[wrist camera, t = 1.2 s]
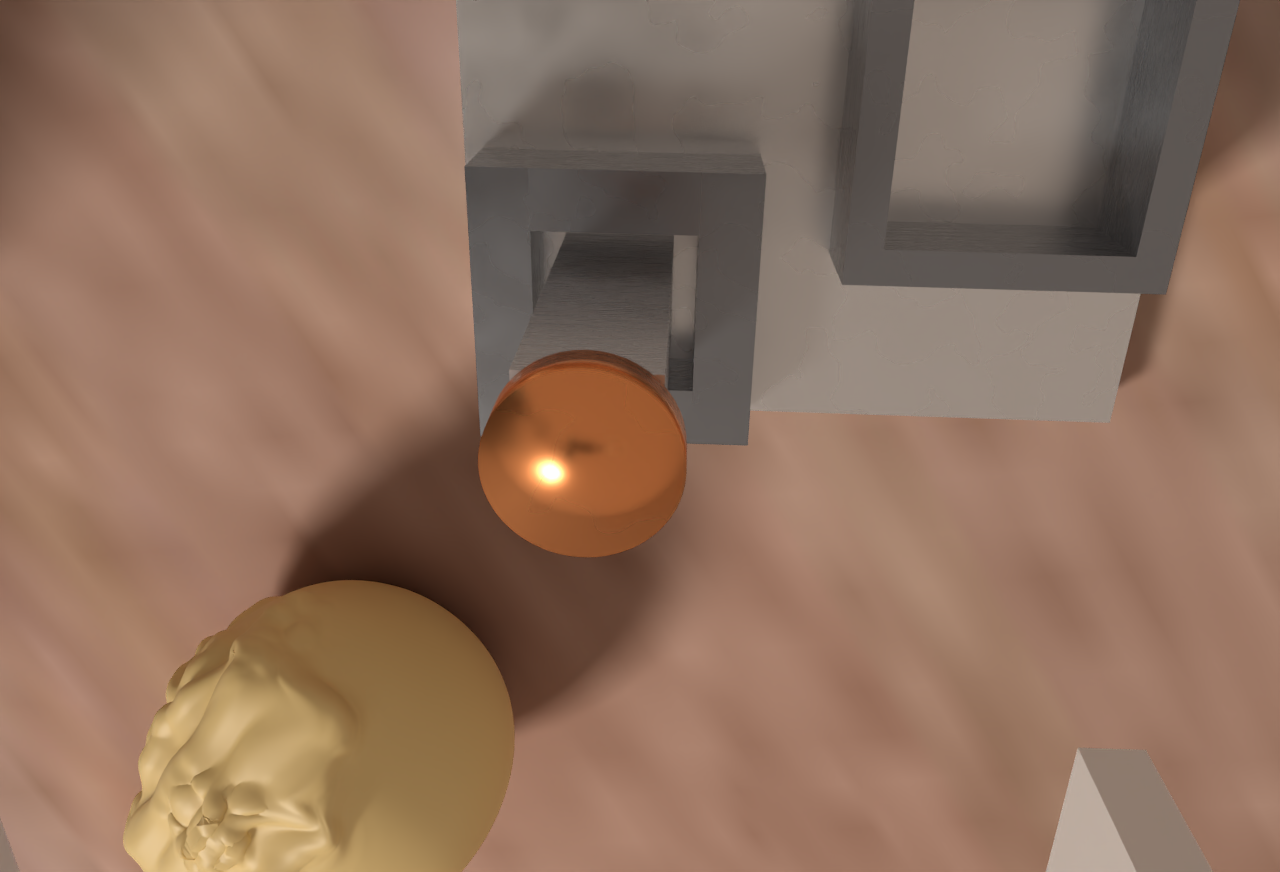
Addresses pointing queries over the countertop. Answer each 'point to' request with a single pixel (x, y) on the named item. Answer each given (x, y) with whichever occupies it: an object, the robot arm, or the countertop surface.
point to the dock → (846, 189)
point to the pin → (591, 404)
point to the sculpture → (327, 741)
